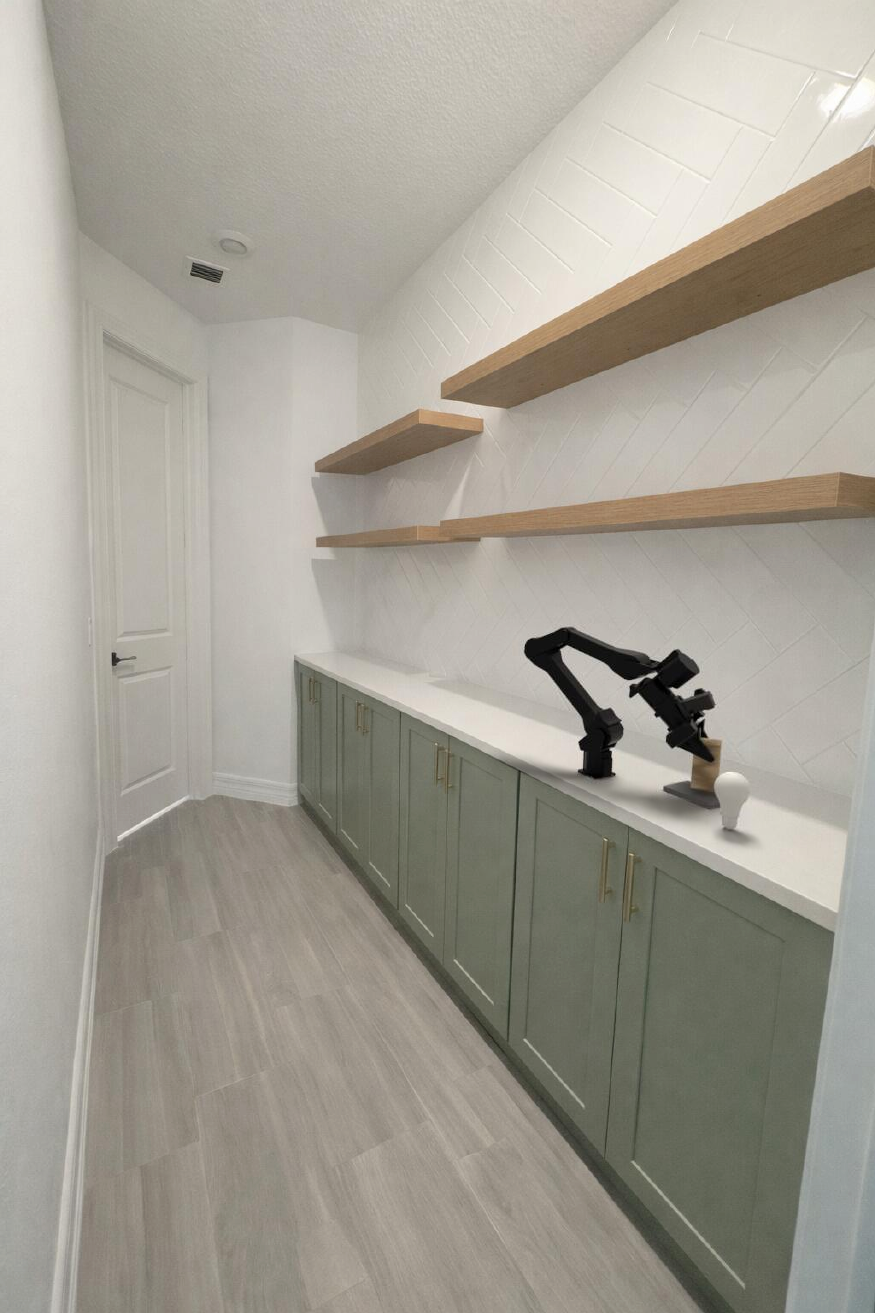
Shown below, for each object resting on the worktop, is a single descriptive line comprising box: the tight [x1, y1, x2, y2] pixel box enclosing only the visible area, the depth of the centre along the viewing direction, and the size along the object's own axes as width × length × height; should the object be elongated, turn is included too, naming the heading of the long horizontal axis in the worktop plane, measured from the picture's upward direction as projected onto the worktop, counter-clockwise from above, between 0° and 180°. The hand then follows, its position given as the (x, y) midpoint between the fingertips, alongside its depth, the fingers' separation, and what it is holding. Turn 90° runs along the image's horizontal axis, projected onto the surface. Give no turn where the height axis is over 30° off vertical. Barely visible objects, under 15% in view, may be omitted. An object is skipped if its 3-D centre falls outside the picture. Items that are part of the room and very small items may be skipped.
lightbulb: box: [714, 771, 751, 830], centre depth 112 cm, size 6×6×11 cm
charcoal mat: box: [662, 780, 721, 810], centre depth 129 cm, size 12×8×1 cm, turn 29°
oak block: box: [690, 737, 723, 792], centre depth 128 cm, size 5×5×10 cm
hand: (713, 757), depth 127 cm, fingers closed on oak block, 5 cm apart
